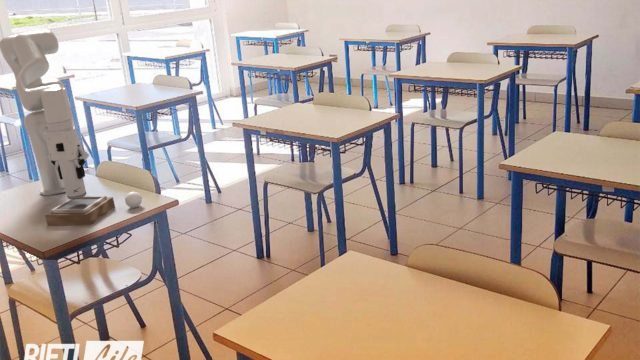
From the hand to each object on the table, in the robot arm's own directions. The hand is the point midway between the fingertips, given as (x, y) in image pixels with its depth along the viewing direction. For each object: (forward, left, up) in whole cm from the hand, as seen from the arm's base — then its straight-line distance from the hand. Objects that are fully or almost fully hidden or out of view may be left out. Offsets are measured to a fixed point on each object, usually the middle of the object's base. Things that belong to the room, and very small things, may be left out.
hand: (72, 177), depth 215 cm
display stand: (0, 0, -14) cm, 14 cm away
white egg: (-9, +15, -14) cm, 23 cm away
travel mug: (0, 0, -7) cm, 7 cm away
